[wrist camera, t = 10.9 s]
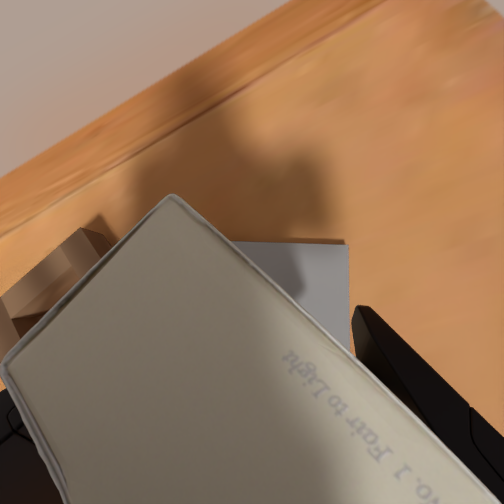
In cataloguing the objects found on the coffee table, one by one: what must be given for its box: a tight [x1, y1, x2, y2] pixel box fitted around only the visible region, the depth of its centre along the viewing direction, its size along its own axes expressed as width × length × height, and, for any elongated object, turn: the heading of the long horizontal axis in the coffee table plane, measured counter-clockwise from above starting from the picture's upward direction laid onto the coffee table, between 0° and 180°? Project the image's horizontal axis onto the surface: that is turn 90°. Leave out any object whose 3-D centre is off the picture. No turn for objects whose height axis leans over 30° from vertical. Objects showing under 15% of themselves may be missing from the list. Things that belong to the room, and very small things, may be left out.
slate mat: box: [231, 241, 350, 351], centre depth 18 cm, size 12×12×1 cm
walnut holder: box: [0, 227, 112, 364], centre depth 19 cm, size 12×14×2 cm
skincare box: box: [0, 194, 502, 504], centre depth 9 cm, size 6×4×12 cm
